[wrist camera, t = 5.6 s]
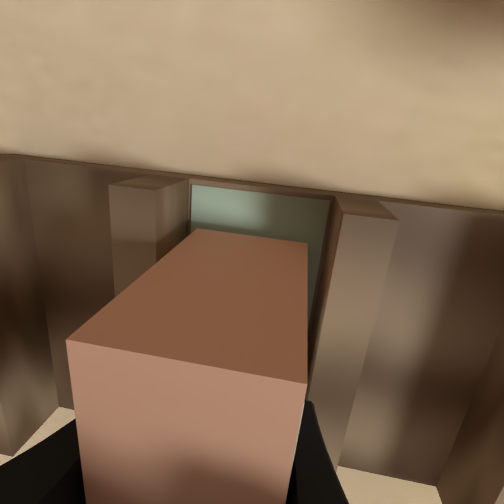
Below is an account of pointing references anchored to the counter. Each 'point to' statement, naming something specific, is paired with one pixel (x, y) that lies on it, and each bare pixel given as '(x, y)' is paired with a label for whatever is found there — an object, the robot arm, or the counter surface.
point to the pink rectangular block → (196, 376)
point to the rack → (318, 306)
